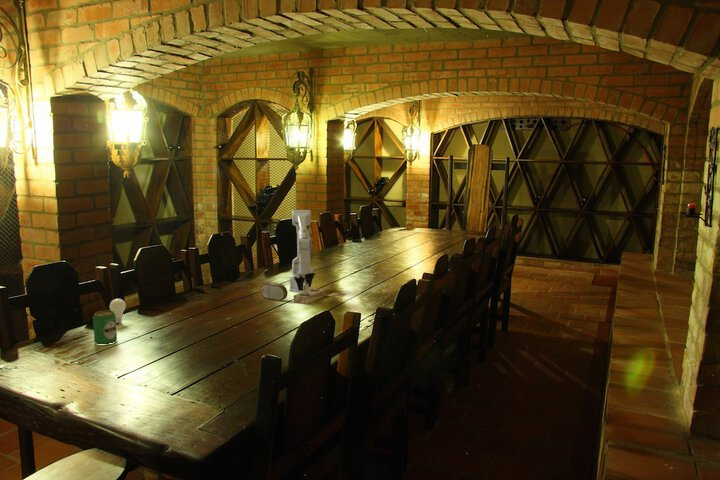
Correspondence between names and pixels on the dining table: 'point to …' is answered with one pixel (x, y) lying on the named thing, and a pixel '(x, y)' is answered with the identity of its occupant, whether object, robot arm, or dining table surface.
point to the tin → (274, 291)
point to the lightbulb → (118, 309)
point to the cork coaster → (337, 295)
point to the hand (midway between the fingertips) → (304, 288)
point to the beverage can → (104, 327)
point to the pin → (305, 289)
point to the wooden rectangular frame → (309, 296)
